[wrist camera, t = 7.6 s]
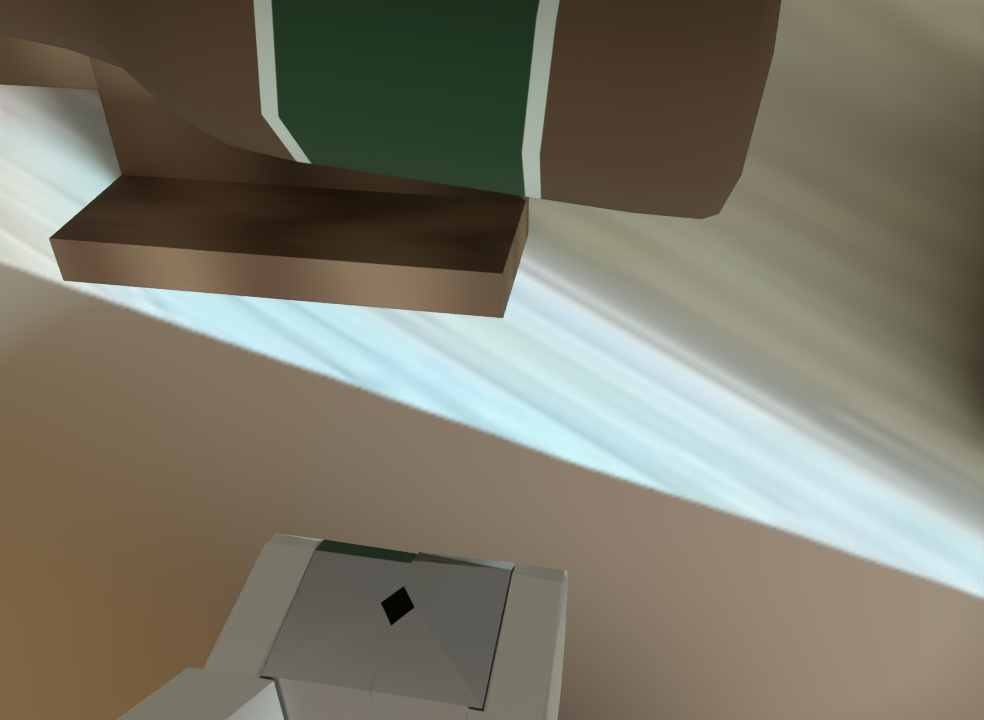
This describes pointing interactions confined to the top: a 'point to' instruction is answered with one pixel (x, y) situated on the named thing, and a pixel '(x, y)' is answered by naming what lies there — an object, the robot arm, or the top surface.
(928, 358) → the top surface
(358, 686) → the robot arm
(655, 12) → the beer bottle
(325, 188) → the u rest
